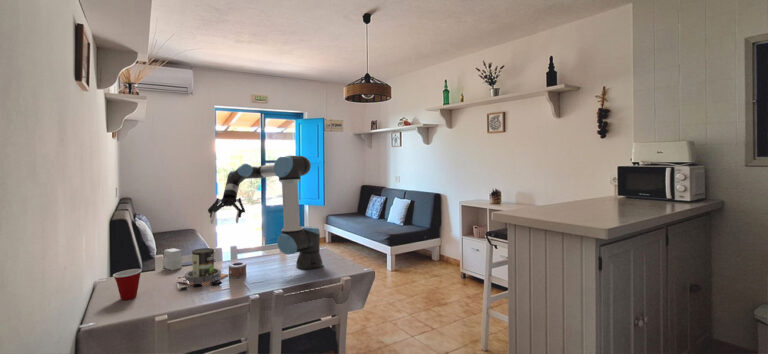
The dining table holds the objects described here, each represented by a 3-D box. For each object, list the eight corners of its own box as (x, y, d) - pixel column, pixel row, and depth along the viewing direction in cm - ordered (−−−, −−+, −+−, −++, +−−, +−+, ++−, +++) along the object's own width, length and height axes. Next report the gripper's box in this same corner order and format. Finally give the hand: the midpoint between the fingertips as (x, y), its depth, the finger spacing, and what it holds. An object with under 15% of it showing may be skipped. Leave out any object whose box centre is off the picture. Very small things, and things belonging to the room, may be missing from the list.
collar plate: (228, 276, 204) (228, 269, 203) (204, 286, 187) (204, 279, 187) (202, 272, 209) (202, 266, 208) (176, 282, 192) (176, 275, 192)
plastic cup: (122, 293, 176) (121, 268, 175) (147, 293, 177) (146, 268, 176) (107, 302, 165) (106, 275, 164) (133, 302, 166) (133, 275, 165)
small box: (182, 268, 216) (181, 249, 216) (172, 270, 212) (171, 251, 211) (174, 265, 221) (173, 247, 220) (164, 268, 216) (164, 249, 215)
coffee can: (217, 274, 203) (217, 248, 202) (208, 280, 193) (208, 252, 192) (198, 273, 203) (198, 247, 203) (188, 280, 193) (187, 252, 192)
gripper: (253, 196, 234) (248, 225, 220) (210, 197, 231) (202, 226, 216) (251, 188, 228) (245, 217, 214) (207, 189, 225) (199, 218, 211)
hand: (224, 222), depth 215 cm, fingers open, 13 cm apart
